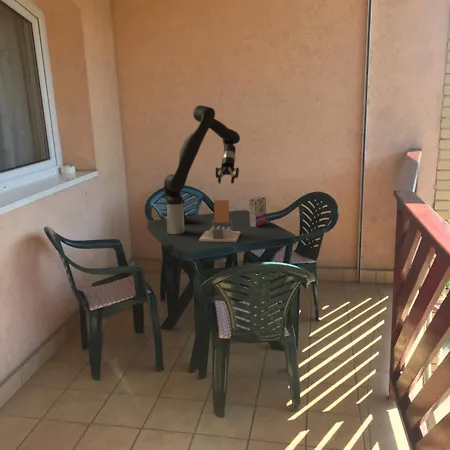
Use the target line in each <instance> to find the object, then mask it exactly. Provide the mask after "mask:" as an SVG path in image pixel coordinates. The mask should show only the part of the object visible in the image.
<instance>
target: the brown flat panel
mask: <svg viewBox="0 0 450 450" xmlns="http://www.w3.org/2000/svg"><path fill="white" fill-rule="evenodd" d="M229 202H230V201H229V199H228V200H227V199H215V200H213V209H214V210H213V211H214V213H213V214H214V216H213V217H214V223H215V224H229V221H230V206H229V205H230V203H229Z"/></svg>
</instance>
